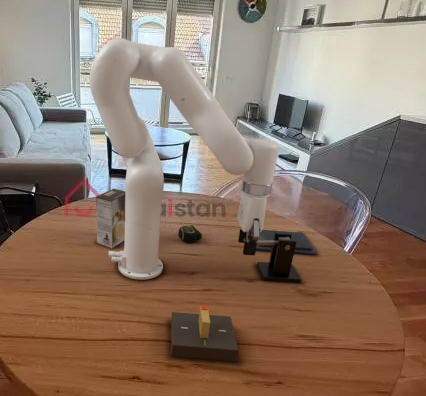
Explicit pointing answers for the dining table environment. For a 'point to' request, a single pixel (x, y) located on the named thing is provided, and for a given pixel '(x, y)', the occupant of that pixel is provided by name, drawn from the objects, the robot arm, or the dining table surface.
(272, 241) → the door handle
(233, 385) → the dining table surface
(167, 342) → the dining table surface
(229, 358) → the plate
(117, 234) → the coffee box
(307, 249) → the dark grey flat tray
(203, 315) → the thumbturn
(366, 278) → the dining table surface
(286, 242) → the handle bracket
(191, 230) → the tape measure
